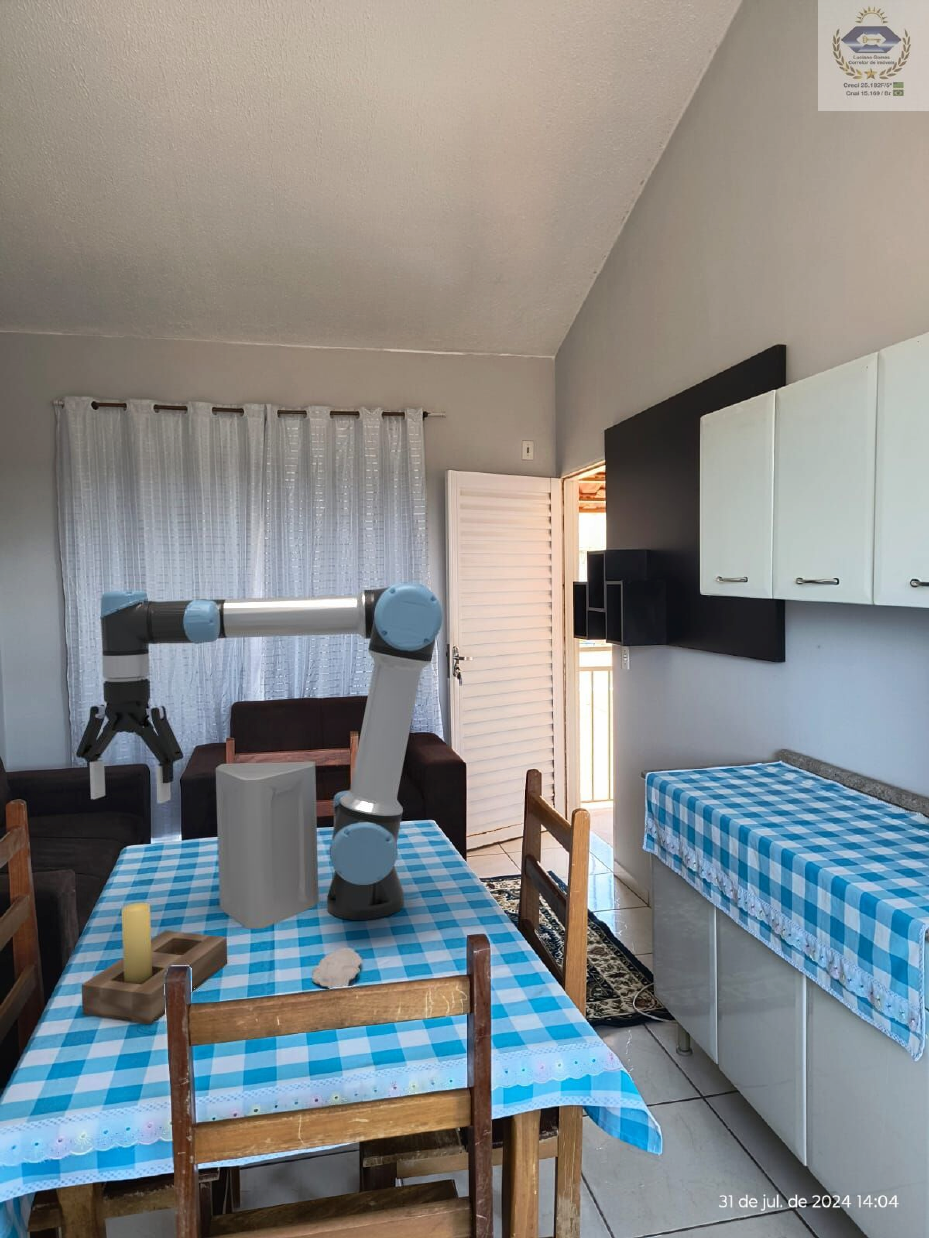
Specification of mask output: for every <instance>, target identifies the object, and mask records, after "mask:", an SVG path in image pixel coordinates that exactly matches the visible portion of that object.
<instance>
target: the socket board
mask: <svg viewBox="0 0 929 1238" xmlns="http://www.w3.org/2000/svg"><path fill="white" fill-rule="evenodd" d="M227 940H228V939H227V936H217V935H210V934H203V933H202V934H201V933H194V932H192V933H191V932H183V931H173V930H164V931H162V932H161V933H160V934H158V935H156V936H155V937H153V938H151V953H152V977H151V978H150V979H149V980H147V981H146V982H145V983H143V984H142V985H140V984H133V983H125V982H124V961H123V957H122V958H121V959H119V960H117V961H116V962H114V963H113V964H111V965H110V966H108V967H106V968H105V969H104V970H102V971H101V972H99V973H97V974H96V975H94V976H93V977H92V978H90V979H88V980H87V981H85V982H84V983H82V984H81V1003H82V1004H81V1005H82V1006H81V1007H82V1016H83V1015H85V1016H90V1017H97V1018H104V1019H111V1020H118V1021H123V1022H124V1021H125V1022H129V1023H130V1022H131V1023H138V1024H145V1025H150V1026H151V1025H153V1024H154V1023H155V1022H157V1021H158V1020H159V1019H160V1018H162V1017H163V1016H164V1015H166V1013H165V995H164V984H165V973H166V972H167V969H168V967H170V966H171V965H189V966H190V967H191V968H192V992H191V993H193V992H194V991H195V990H196V989H198V988H199V987H201V985H202V984H204V983H205V982H206V981H208V980H209V979H210V978H211V977H213V976H214V975H215V974H217V973H218V971H220V970H221V969H223V968H224V967H225V966H226V965H228V941H227ZM197 987H198V988H197ZM194 988H195V990H194Z"/></svg>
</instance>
